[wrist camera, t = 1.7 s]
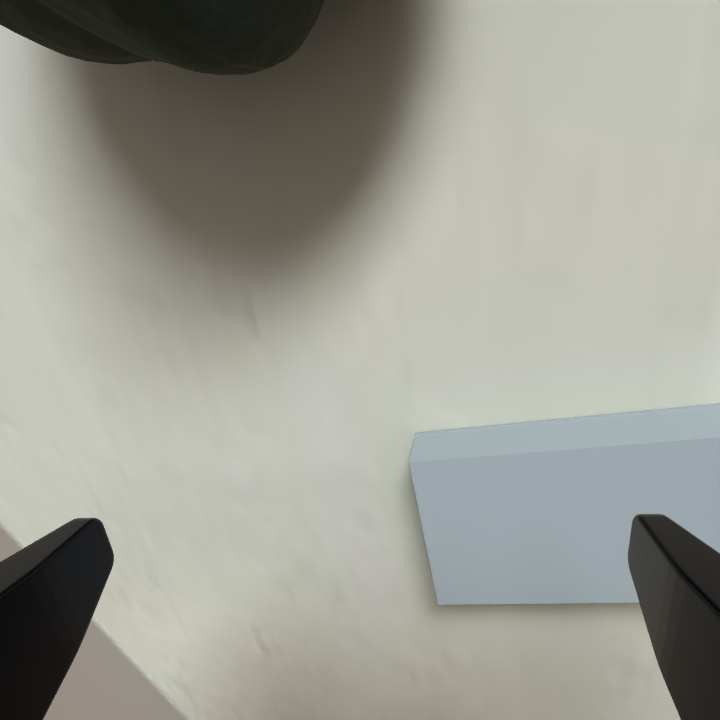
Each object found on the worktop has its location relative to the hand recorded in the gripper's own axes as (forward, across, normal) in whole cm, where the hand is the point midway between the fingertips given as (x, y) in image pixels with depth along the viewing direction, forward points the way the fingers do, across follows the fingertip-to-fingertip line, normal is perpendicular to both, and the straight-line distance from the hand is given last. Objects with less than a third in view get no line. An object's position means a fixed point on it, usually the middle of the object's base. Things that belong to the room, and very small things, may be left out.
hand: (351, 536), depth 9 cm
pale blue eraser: (+12, -8, +9) cm, 17 cm away
